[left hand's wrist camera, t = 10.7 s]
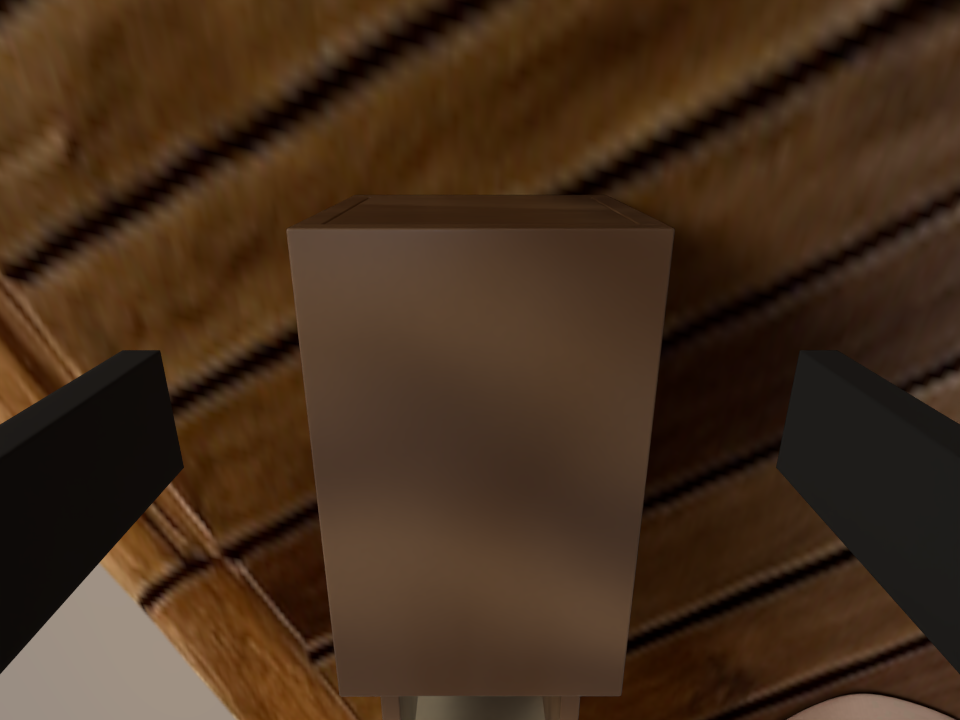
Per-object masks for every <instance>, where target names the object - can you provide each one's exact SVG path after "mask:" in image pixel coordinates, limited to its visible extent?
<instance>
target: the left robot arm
mask: <svg viewBox="0 0 960 720" xmlns="http://www.w3.org/2000/svg"><path fill="white" fill-rule="evenodd" d="M183 468H184V466H183V461H182V456H181V451H180V446H179V441H178V436H177V431H176V426H175V422H174V417H173V412H172V407H171V402H170V397H169V392H168V387H167V382H166V377H165V372H164V367H163V363H162V358H161V353H160V350H123V351H121V352H119V353H118V354H116V355H114V356H113V357H111V358H109V359H108V360H106V361H104V362H103V363H101V364H100V365H98V366H96V367H95V368H93V369H91V370H90V371H88V372H86V373H85V374H83V375H81V376H80V377H78V378H76V379H75V380H73V381H71V382H70V383H68V384H66V385H65V386H63V387H62V388H60V389H58V390H57V391H55V392H53V393H52V394H50V395H48V396H47V397H45V398H43V399H42V400H40V401H38V402H37V403H35V404H33V405H32V406H30V407H28V408H27V409H25V410H23V411H22V412H20V413H19V414H17V415H15V416H14V417H12V418H10V419H9V420H7V421H5V422H4V423H2V424H0V674H1V673H2V671H3V670H4V669H5V668H6V667H7V666H8V665H9V664H10V662H11V661H12V660H13V659H14V658H15V657H16V656H17V655H18V654H19V652H20V651H21V650H22V649H23V648H24V647H25V646H26V645H27V643H28V642H29V641H30V640H31V639H32V638H33V637H34V636H35V634H36V633H37V632H38V631H39V630H40V629H41V628H42V627H43V625H44V624H45V623H46V622H47V621H48V620H49V619H50V618H51V616H52V615H53V614H54V613H55V612H56V611H57V610H58V609H59V607H60V606H61V605H62V604H63V603H64V602H65V601H66V599H67V598H68V597H69V596H70V595H71V594H72V593H73V592H74V591H75V589H76V588H77V587H78V586H79V585H80V584H81V583H82V581H83V580H84V579H85V578H86V577H87V576H88V575H89V574H90V572H91V571H92V570H93V569H94V568H95V567H96V566H97V565H98V564H99V562H100V561H101V560H102V559H103V558H104V557H105V556H106V555H107V553H108V552H109V551H110V550H111V549H112V548H113V547H114V545H115V544H116V543H117V542H118V541H119V540H120V539H121V538H122V536H123V535H124V534H125V533H126V532H127V531H128V530H129V529H130V527H131V526H132V525H133V524H134V523H135V522H136V521H137V520H138V518H139V517H140V516H141V515H142V514H143V513H144V512H145V511H146V509H147V508H148V507H149V506H150V505H151V504H152V503H153V502H154V500H155V499H156V498H157V497H158V496H159V495H160V494H161V493H162V491H163V490H164V489H165V488H166V487H167V486H168V485H169V484H170V482H171V481H172V480H173V479H174V478H175V477H176V476H177V475H178V473H179V472H180V471H181V470H182V469H183ZM776 468H777V469H778V470H779V471H780V472H781V473H782V475H783V476H784V477H785V478H786V479H787V480H788V481H789V482H790V484H791V485H792V486H793V487H794V488H795V489H796V490H797V491H798V493H799V494H800V495H801V496H802V497H803V498H804V499H805V500H806V502H807V503H808V504H809V505H810V506H811V507H812V508H813V509H814V511H815V512H816V513H817V514H818V515H819V516H820V517H821V518H822V520H823V521H824V522H825V523H826V524H827V525H828V526H829V527H830V529H831V530H832V531H833V532H834V533H835V534H836V535H837V536H838V538H839V539H840V540H841V541H842V542H843V543H844V544H845V545H846V547H847V548H848V549H849V550H850V551H851V552H852V553H853V555H854V556H855V557H856V558H857V559H858V560H859V561H860V562H861V564H862V565H863V566H864V567H865V568H866V569H867V570H868V571H869V573H870V574H871V575H872V576H873V577H874V578H875V579H876V580H877V582H878V583H879V584H880V585H881V586H882V587H883V588H884V589H885V591H886V592H887V593H888V594H889V595H890V596H891V597H892V598H893V600H894V601H895V602H896V603H897V604H898V605H899V606H900V607H901V609H902V610H903V611H904V612H905V613H906V614H907V615H908V616H909V618H910V619H911V620H912V621H913V622H914V623H915V624H916V625H917V627H918V628H919V629H920V630H921V631H922V632H923V633H924V634H925V636H926V637H927V638H928V639H929V640H930V641H931V642H932V643H933V645H934V646H935V647H936V648H937V649H938V650H939V651H940V652H941V654H942V655H943V656H944V657H945V658H946V659H947V660H948V661H949V663H950V664H951V665H952V666H953V667H954V668H955V669H956V670H957V672H958V673H959V674H960V424H958V423H956V422H955V421H953V420H951V419H950V418H948V417H946V416H945V415H943V414H941V413H940V412H938V411H937V410H935V409H933V408H932V407H930V406H928V405H927V404H925V403H923V402H922V401H920V400H918V399H917V398H915V397H913V396H912V395H910V394H908V393H907V392H905V391H903V390H902V389H900V388H898V387H897V386H895V385H894V384H892V383H890V382H889V381H887V380H885V379H884V378H882V377H880V376H879V375H877V374H875V373H874V372H872V371H870V370H869V369H867V368H865V367H864V366H862V365H860V364H859V363H857V362H856V361H854V360H852V359H851V358H849V357H847V356H846V355H844V354H842V353H841V352H839V351H837V350H800V353H799V358H798V363H797V367H796V372H795V377H794V382H793V387H792V392H791V397H790V402H789V407H788V412H787V417H786V422H785V426H784V431H783V436H782V441H781V446H780V451H779V456H778V461H777V466H776Z"/></svg>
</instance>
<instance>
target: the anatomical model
mask: <svg viewBox="0 0 960 720" xmlns="http://www.w3.org/2000/svg"><path fill="white" fill-rule="evenodd" d="M786 720H955V719H953V718H951V717H949V716H947V715H944V714H942V713H939V712H937V711H934V710H932V709H929V708H927V707H923V706H920V705H917V704H914V703H911V702H908V701H904V700H901V699H897V698H892V697H887V696H882V695H874V694H851V695H845V696H840V697H836V698H833V699H829V700H827V701H824V702H821V703H819V704H816V705H814V706H812V707H810V708H807V709H805V710H803V711H801V712H799V713H797V714H795V715H794V716H792V717H790V718H788V719H786Z"/></svg>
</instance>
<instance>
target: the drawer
mask: <svg viewBox="0 0 960 720" xmlns="http://www.w3.org/2000/svg"><path fill="white" fill-rule="evenodd" d="M381 706H382V719H383V720H578V718H579V706H580V696H381Z"/></svg>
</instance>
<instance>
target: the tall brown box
mask: <svg viewBox="0 0 960 720" xmlns="http://www.w3.org/2000/svg"><path fill="white" fill-rule="evenodd" d="M674 233H675V230H674V228H672V227H670V226H668V225H666V224H665V223H662V222H660V221H658V220H656V219H654V218H652V217H650V216H648V215H646V214H644V213H642V212H640V211H638V210H636V209H634V208H631V207H629V206H627V205H625V204H623V203H621V202H619V201H617V200H615V199H613V198H611V197H608V196H606V195H354V196H352V197H351V198H348V199H346V200H344V201H342V202H340V203H338V204H336V205H334V206H332V207H330V208H328V209H326V210H324V211H322V212H320V213H318V214H316V215H314V216H312V217H310V218H308V219H306V220H304V221H302V222H300V223H298V224H296V225H293V226H291V227H289V228H287V240H288V248H289V257H290V266H291V275H292V283H293V292H294V301H295V310H296V318H297V327H298V336H299V345H300V353H301V362H302V371H303V380H304V388H305V397H306V406H307V415H308V423H309V432H310V441H311V450H312V458H313V467H314V476H315V484H316V493H317V502H318V511H319V519H320V528H321V537H322V546H323V554H324V563H325V572H326V581H327V589H328V598H329V607H330V616H331V624H332V633H333V642H334V651H335V659H336V668H337V677H338V686H339V694H340V696H621V694H622V685H623V676H624V668H625V659H626V650H627V642H628V633H629V624H630V615H631V607H632V598H633V589H634V581H635V572H636V563H637V555H638V546H639V537H640V529H641V520H642V511H643V503H644V494H645V485H646V476H647V468H648V459H649V450H650V442H651V433H652V424H653V416H654V407H655V398H656V390H657V381H658V372H659V363H660V355H661V346H662V337H663V329H664V320H665V311H666V303H667V294H668V285H669V277H670V268H671V259H672V250H673V242H674Z"/></svg>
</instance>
